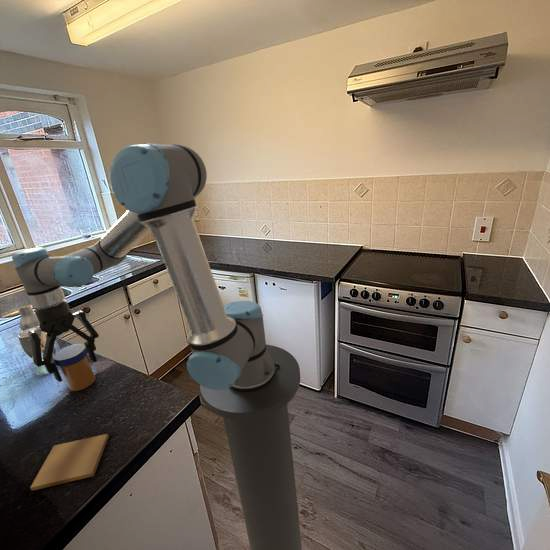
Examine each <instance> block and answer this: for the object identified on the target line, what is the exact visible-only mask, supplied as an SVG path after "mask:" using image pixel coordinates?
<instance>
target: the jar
mask: <svg viewBox="0 0 550 550" xmlns="http://www.w3.org/2000/svg"><path fill="white" fill-rule="evenodd" d="M90 361H91V360H90V358H89V355H88V354H87V355H86V356H85V357H84V358H83V359H82V360H80V361H78V362H76V363H74V364H71V365H68V366H58V368H59V370H60V371H61V373H62V376H63V378H64V380H65V383H66V385H67V388H68V389H69V391H71V392H78V391H82V390H84V389H86V388H89V387H90V386H91V385H92V384H94V383H95V381H96V379H97V378H96V374H95V372H94V370H93V366H92V364H91V362H90Z"/></svg>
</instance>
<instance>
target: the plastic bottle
mask: <svg viewBox="0 0 550 550" xmlns="http://www.w3.org/2000/svg"><path fill="white" fill-rule="evenodd" d="M34 310H35V309H34V308H33V307H32V305H28V306H27V305H26V306H23V307H21V308H19V309H18V313H19V316H20V320H19V328H20V329H21V332H22V331H24V330H26V329H29V328H32V327H36V326H40V323H39V320H38V318H37V316H36V314H35V311H34ZM46 334H47V333H46ZM56 353H57V350H56V347H55V345H54V348H53V353H52V355H53V357H54V355H55V354H56Z"/></svg>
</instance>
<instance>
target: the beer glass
mask: <svg viewBox="0 0 550 550" xmlns="http://www.w3.org/2000/svg"><path fill="white" fill-rule="evenodd" d="M38 328H39V326H36V327H32V328H29V329H26V330H24V331H22V330H21V332H19V333H18V334H17V338H18V340H19V344H20V346H21V348H22V350H23V352H24V353H25V355H26V356H27V358H28V359H29V360H30V361H31V362H32V364H33V366H34V368H35V374H36V375H37V376H39V377H43V376H47V375H51V374H50V373H49V372H47V370H46V367H45V365H42V366H40V367H38V366H37V365H35V364H34V360H33V350H32V340H31V338H30V336H29V335H28V332H29V331H34V330H36V329H38ZM46 335H47V334H46V333H45V332H43V331H42V332H41V336H40V337H39V339H40V344H41V354H42V359H43V354H44V349H45V344H46ZM53 357H54V356H53V355H52V358H51V360H52V361H54V358H53ZM54 362H55V361H54ZM55 365H56V364H55ZM56 367H57V369H58V368H59V366H57V365H56Z"/></svg>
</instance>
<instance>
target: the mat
mask: <svg viewBox="0 0 550 550" xmlns="http://www.w3.org/2000/svg"><path fill="white" fill-rule="evenodd" d="M109 438H110V436H109V434H108V433H105V434H100V435H95V436H91V437H87V438H81V439H78V440H73V441H69V442H68V441H67V442H63V443H59V444H55V445H53V446H52V449H51V450H50V452H49V454H48V455H47V457H46V459H45V460H44V462H43V464H42V466H41V468H40V469H39V471H38V473H37V475H36V477H35V478H34V480H33V482H32V484H31V485H30V487H29V488H30V490H31V491H36V490H37V491H38V490H41V489H45V488H46V489H47V488H50V487H54V486H58V485H62V484H67V483H71V482H74V481H80V480H83V479H87V478H93V477H94V476H95V474H96V472H97V469H98V466H99V464H100V461H101V458H102V455H103V453H104V450H105V448H106V445H107V443H108V440H109Z"/></svg>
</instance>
